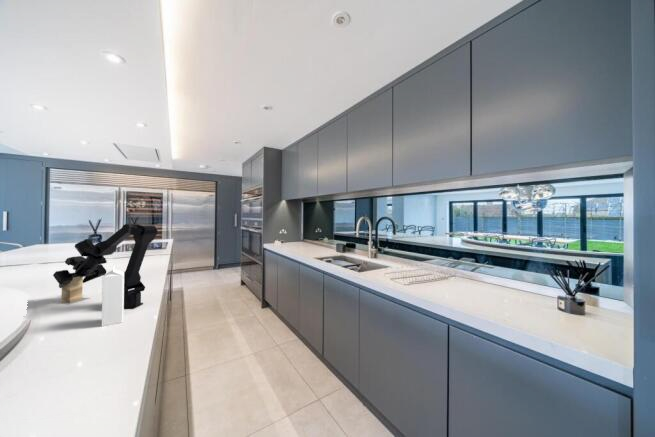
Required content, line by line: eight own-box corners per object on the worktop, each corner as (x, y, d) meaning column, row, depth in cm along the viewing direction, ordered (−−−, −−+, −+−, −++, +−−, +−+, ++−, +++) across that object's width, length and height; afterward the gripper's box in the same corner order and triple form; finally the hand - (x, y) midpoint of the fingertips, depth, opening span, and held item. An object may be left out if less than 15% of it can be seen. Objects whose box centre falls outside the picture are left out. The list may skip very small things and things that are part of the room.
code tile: (90, 299, 120) (90, 298, 120) (68, 305, 111) (68, 304, 111) (74, 298, 121) (74, 296, 121) (51, 304, 112) (51, 303, 112)
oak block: (82, 299, 118) (82, 274, 118) (69, 302, 113) (70, 276, 113) (74, 298, 119) (74, 273, 119) (61, 301, 114) (61, 275, 114)
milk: (101, 326, 90) (101, 268, 90) (104, 321, 95) (104, 266, 95) (122, 322, 94) (123, 267, 94) (124, 317, 98) (124, 264, 98)
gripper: (102, 248, 124) (84, 268, 126) (56, 253, 106) (36, 276, 108) (114, 264, 123) (96, 284, 125) (70, 272, 105) (50, 295, 106)
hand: (71, 284), depth 116 cm, fingers open, 9 cm apart
